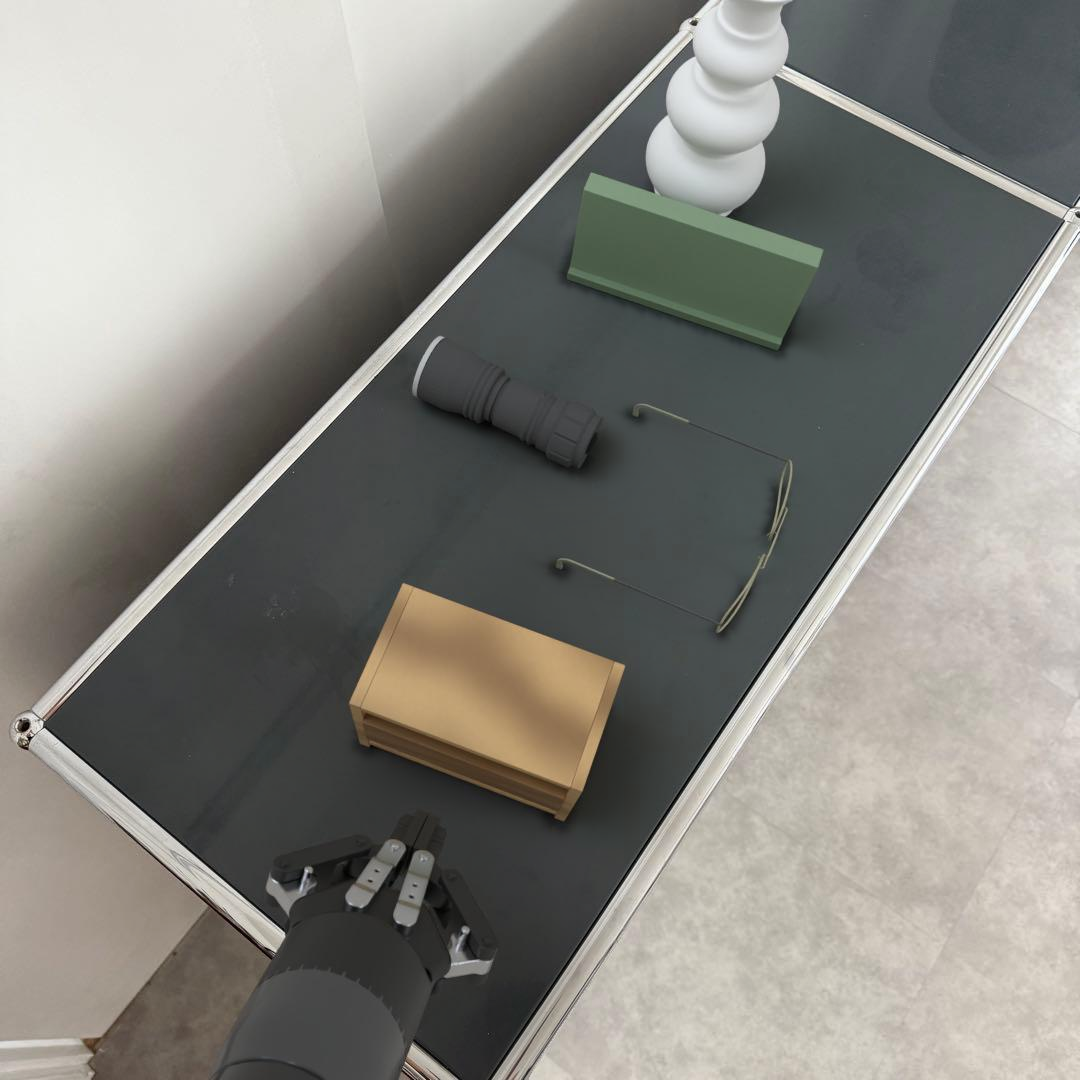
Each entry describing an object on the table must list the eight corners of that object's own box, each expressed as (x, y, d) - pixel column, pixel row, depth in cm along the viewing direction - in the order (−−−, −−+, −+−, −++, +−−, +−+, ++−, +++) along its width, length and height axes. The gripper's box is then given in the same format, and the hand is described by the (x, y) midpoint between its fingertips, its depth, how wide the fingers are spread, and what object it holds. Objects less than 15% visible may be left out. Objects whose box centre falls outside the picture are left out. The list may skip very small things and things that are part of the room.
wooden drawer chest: (563, 824, 80) (581, 795, 70) (358, 746, 81) (347, 706, 71) (603, 708, 84) (625, 665, 74) (406, 635, 85) (403, 582, 75)
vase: (653, 246, 102) (715, 20, 79) (625, 155, 106) (676, -84, 83) (765, 233, 104) (857, 8, 81) (733, 144, 108) (812, -94, 85)
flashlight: (603, 434, 93) (613, 401, 88) (577, 484, 91) (585, 454, 86) (442, 359, 95) (443, 323, 90) (412, 407, 93) (411, 373, 88)
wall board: (777, 351, 98) (816, 274, 88) (566, 279, 99) (580, 195, 89) (790, 308, 100) (830, 228, 90) (583, 238, 101) (599, 152, 91)
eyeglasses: (727, 646, 86) (743, 625, 82) (554, 568, 88) (561, 542, 83) (793, 484, 93) (811, 456, 88) (631, 413, 94) (641, 382, 90)
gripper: (485, 1037, 47) (550, 813, 63) (198, 926, 48) (335, 732, 64) (438, 1158, 50) (512, 913, 66) (167, 1051, 50) (306, 835, 66)
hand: (425, 824), depth 65 cm, fingers closed
